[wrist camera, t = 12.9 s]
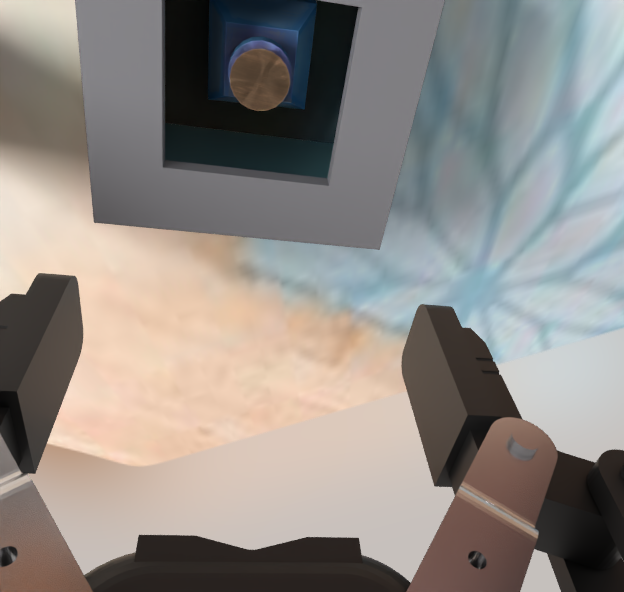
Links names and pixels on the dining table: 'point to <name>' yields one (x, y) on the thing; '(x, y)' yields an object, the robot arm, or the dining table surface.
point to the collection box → (249, 134)
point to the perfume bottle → (260, 52)
